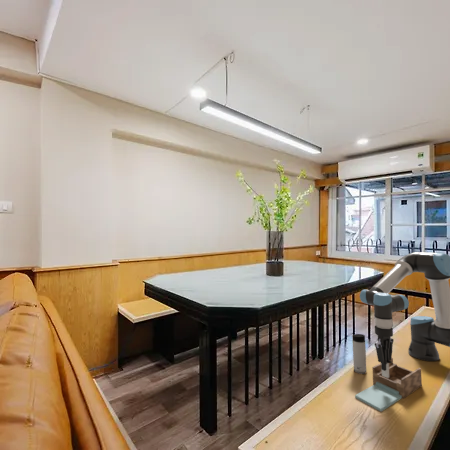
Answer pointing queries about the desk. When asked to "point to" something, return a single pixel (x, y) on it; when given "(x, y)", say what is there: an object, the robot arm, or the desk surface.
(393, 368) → the box
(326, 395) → the desk surface
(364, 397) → the cover plate
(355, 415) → the desk surface
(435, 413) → the desk surface
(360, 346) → the travel mug
